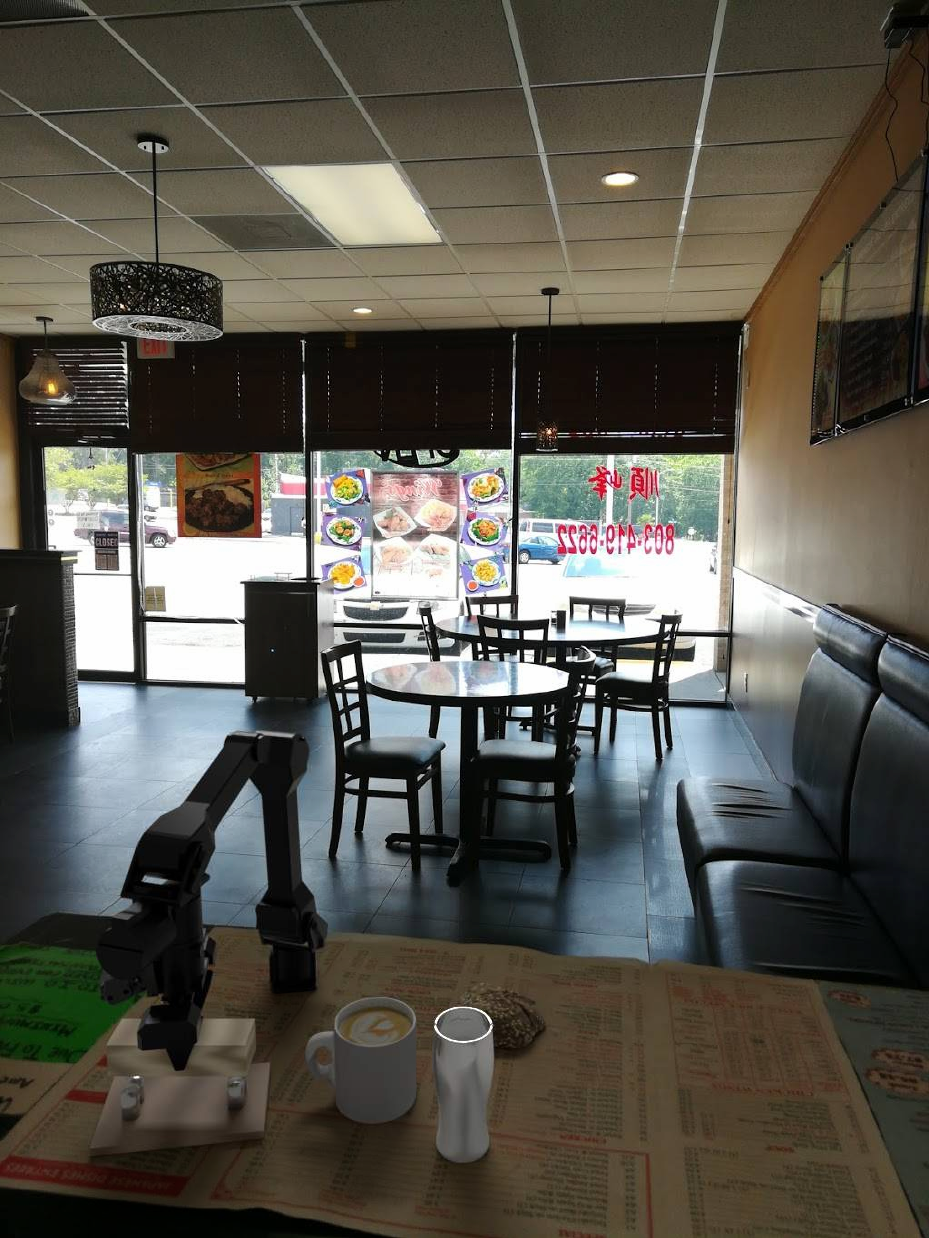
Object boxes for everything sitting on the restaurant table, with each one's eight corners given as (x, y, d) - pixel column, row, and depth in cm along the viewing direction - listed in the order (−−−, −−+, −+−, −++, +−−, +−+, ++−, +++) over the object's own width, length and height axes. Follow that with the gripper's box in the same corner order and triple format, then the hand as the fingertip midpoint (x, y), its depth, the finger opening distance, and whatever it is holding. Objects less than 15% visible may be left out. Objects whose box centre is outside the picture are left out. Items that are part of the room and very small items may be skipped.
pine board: (256, 1048, 108) (254, 1018, 107) (246, 1076, 103) (245, 1045, 102) (124, 1048, 108) (122, 1018, 107) (108, 1076, 103) (105, 1045, 102)
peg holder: (270, 1069, 114) (269, 1040, 113) (263, 1138, 102) (262, 1107, 101) (115, 1083, 111) (113, 1054, 110) (89, 1156, 99) (87, 1124, 98)
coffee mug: (424, 1072, 113) (423, 1001, 112) (405, 1128, 104) (405, 1051, 102) (323, 1060, 115) (321, 989, 114) (296, 1114, 106) (294, 1038, 104)
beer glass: (487, 1171, 97) (488, 1047, 95) (425, 1161, 99) (425, 1039, 96) (497, 1126, 104) (499, 1009, 102) (439, 1117, 105) (440, 1001, 103)
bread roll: (438, 1038, 120) (438, 1005, 120) (472, 990, 132) (472, 959, 131) (527, 1063, 116) (528, 1028, 115) (555, 1010, 127) (555, 978, 126)
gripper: (122, 898, 110) (129, 1012, 113) (82, 984, 92) (92, 1117, 95) (214, 892, 112) (219, 1005, 115) (193, 975, 94) (199, 1106, 97)
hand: (183, 1054), depth 105 cm, fingers closed on pine board, 5 cm apart
